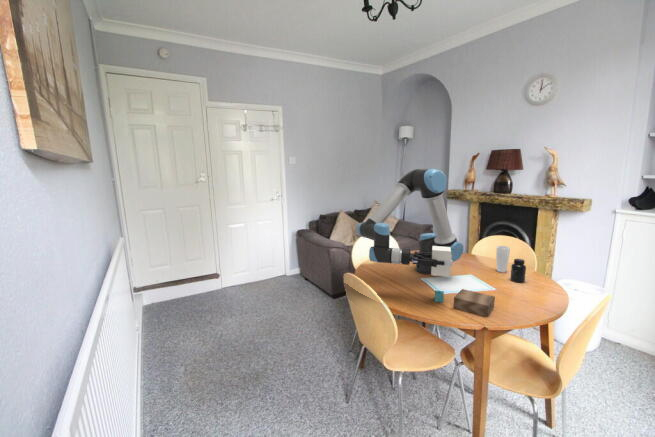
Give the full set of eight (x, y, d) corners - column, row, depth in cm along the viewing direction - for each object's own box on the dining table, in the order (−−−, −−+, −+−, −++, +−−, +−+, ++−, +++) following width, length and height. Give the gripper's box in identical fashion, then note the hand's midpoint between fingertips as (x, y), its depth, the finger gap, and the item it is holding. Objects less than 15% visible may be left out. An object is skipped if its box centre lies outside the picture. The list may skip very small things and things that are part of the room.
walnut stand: (453, 307, 138) (454, 297, 137) (461, 298, 147) (462, 289, 146) (487, 317, 129) (488, 305, 128) (494, 306, 138) (494, 296, 138)
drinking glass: (492, 269, 188) (494, 245, 185) (503, 269, 188) (505, 245, 186) (499, 273, 181) (501, 248, 178) (510, 272, 182) (512, 248, 179)
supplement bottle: (526, 283, 165) (529, 262, 163) (512, 282, 167) (514, 261, 165) (521, 278, 172) (523, 258, 170) (508, 278, 173) (510, 257, 171)
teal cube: (434, 301, 145) (434, 293, 144) (434, 298, 149) (434, 290, 148) (443, 302, 144) (443, 294, 143) (443, 299, 147) (443, 291, 147)
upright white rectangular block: (431, 275, 141) (432, 250, 140) (431, 269, 149) (432, 245, 147) (449, 277, 139) (451, 251, 137) (449, 271, 146) (450, 247, 144)
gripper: (403, 258, 159) (450, 261, 152) (398, 270, 140) (452, 276, 132) (403, 243, 158) (451, 247, 150) (399, 254, 138) (453, 259, 131)
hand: (451, 260), depth 141 cm, fingers closed on upright white rectangular block, 8 cm apart
